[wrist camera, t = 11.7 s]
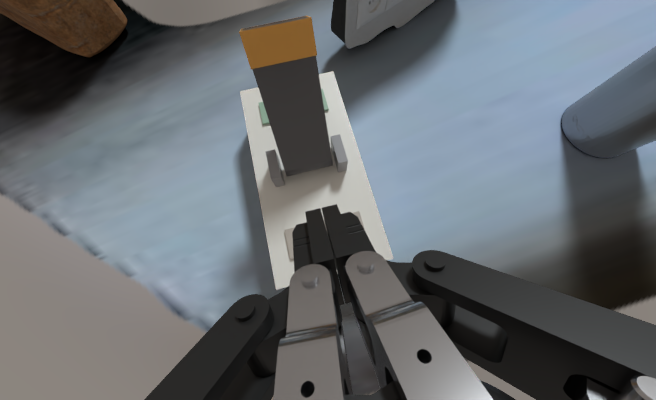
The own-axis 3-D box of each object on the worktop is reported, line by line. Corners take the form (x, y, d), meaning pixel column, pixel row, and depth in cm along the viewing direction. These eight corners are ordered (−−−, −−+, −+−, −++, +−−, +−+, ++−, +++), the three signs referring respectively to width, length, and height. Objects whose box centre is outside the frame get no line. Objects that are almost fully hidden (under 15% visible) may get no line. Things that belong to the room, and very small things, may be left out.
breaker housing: (332, 102, 37) (333, 55, 29) (381, 261, 30) (400, 257, 22) (254, 120, 36) (232, 76, 28) (286, 286, 30) (270, 291, 22)
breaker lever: (329, 158, 28) (306, 15, 20) (334, 170, 26) (311, 17, 18) (285, 168, 28) (241, 28, 19) (287, 181, 26) (239, 31, 17)
